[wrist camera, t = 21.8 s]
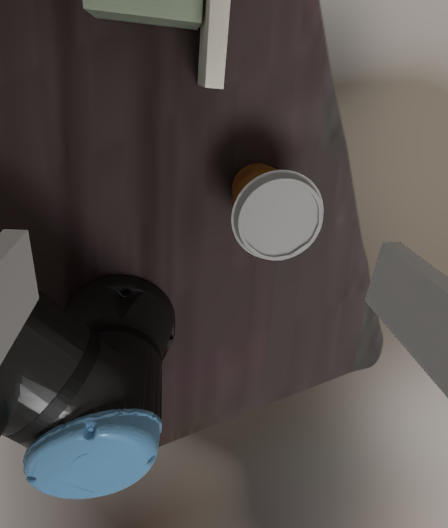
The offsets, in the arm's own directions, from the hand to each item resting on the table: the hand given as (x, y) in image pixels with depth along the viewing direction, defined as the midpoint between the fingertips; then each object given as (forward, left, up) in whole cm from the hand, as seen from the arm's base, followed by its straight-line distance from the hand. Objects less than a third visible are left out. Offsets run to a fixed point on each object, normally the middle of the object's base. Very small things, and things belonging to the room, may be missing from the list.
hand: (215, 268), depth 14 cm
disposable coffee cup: (+4, -10, -33) cm, 35 cm away
